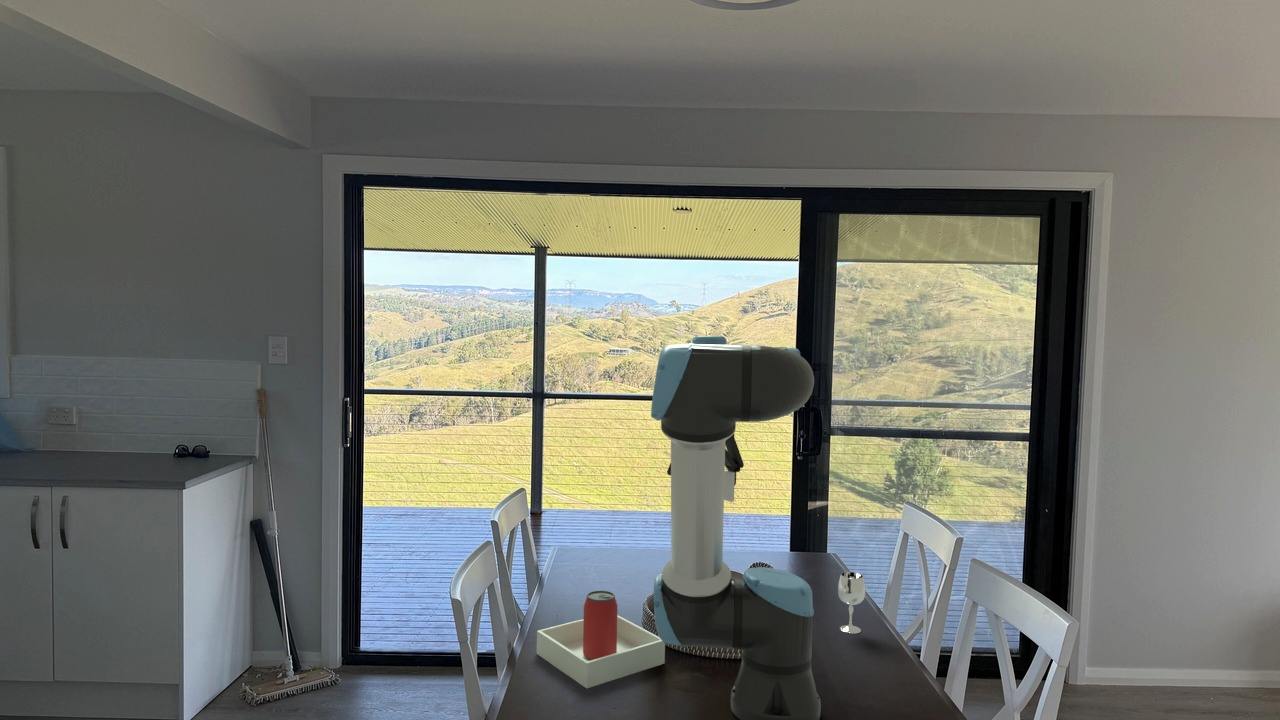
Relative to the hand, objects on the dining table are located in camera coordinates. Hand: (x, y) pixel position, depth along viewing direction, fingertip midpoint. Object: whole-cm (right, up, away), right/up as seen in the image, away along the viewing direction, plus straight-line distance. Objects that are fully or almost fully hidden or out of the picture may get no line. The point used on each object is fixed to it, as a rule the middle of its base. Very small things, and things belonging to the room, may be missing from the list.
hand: (705, 504), depth 168 cm
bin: (-22, -27, -17) cm, 39 cm away
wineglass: (+31, -28, 0) cm, 42 cm away
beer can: (-22, -27, -17) cm, 38 cm away
